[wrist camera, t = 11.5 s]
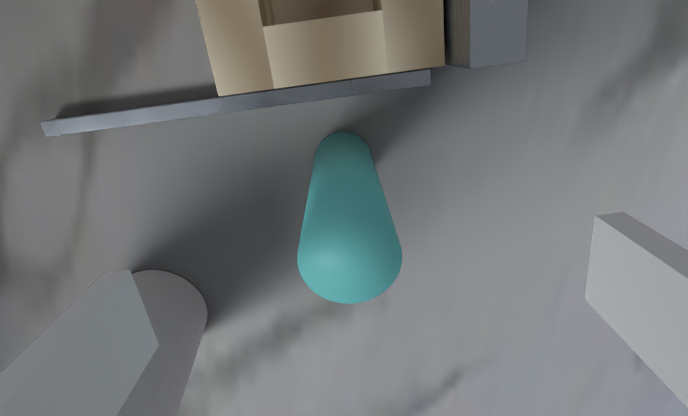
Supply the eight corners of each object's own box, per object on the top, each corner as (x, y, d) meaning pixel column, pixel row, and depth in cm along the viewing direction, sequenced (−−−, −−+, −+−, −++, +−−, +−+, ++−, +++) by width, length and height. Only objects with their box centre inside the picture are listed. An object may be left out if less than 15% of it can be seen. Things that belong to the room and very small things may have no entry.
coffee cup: (116, 224, 25) (-149, 442, 12) (252, 288, 27) (167, 539, 14) (72, 330, 28) (-180, 603, 15) (198, 380, 30) (82, 662, 17)
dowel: (319, 189, 25) (306, 308, 14) (310, 135, 23) (288, 218, 12) (373, 182, 25) (405, 297, 14) (368, 128, 23) (397, 205, 12)
